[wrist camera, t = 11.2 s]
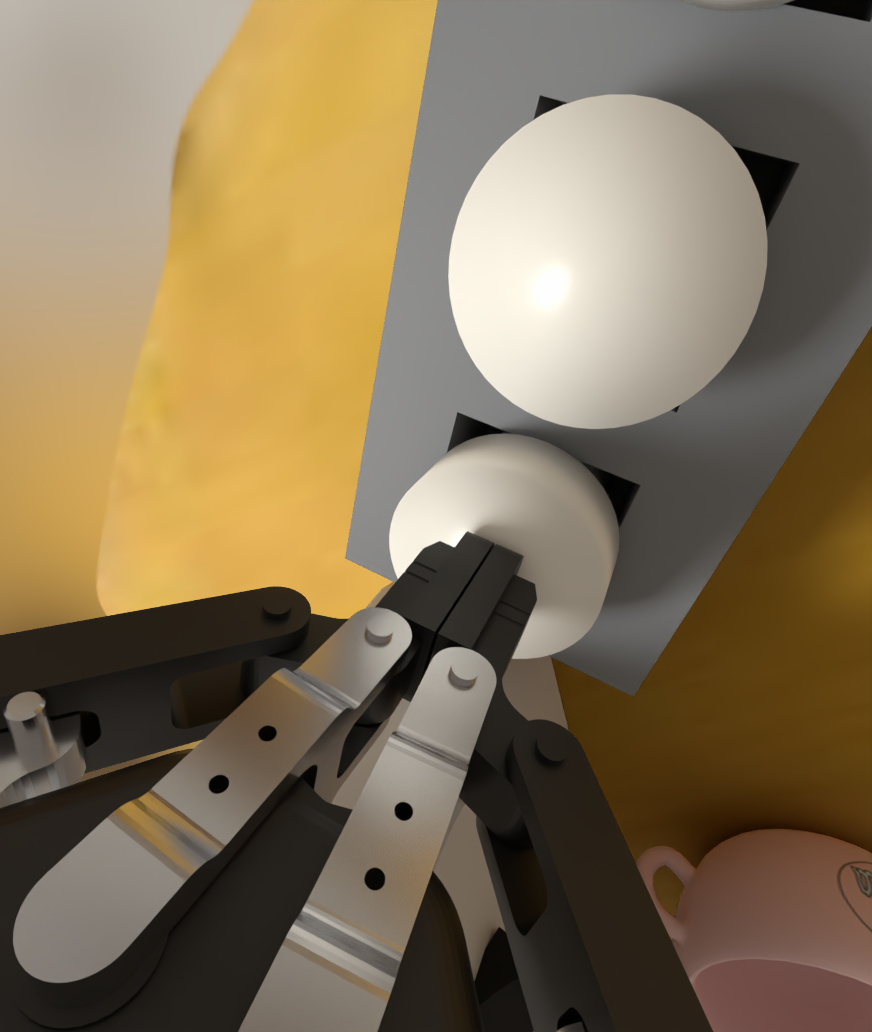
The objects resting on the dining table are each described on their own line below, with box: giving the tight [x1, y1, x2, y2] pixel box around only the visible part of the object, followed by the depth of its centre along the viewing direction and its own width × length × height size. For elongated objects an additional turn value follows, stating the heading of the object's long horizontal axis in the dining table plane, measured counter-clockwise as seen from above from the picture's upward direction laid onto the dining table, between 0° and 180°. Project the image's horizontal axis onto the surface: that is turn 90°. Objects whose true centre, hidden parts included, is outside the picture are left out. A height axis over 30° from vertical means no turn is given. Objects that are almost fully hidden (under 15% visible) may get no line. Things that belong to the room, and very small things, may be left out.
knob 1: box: [448, 94, 768, 429], centre depth 13 cm, size 6×6×6 cm
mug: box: [636, 829, 872, 1032], centre depth 23 cm, size 12×10×6 cm
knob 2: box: [389, 431, 620, 659], centre depth 17 cm, size 6×6×6 cm
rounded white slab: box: [332, 582, 569, 1032], centre depth 22 cm, size 29×8×18 cm, turn 17°
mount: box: [345, 0, 872, 696], centre depth 15 cm, size 10×22×5 cm, turn 167°
